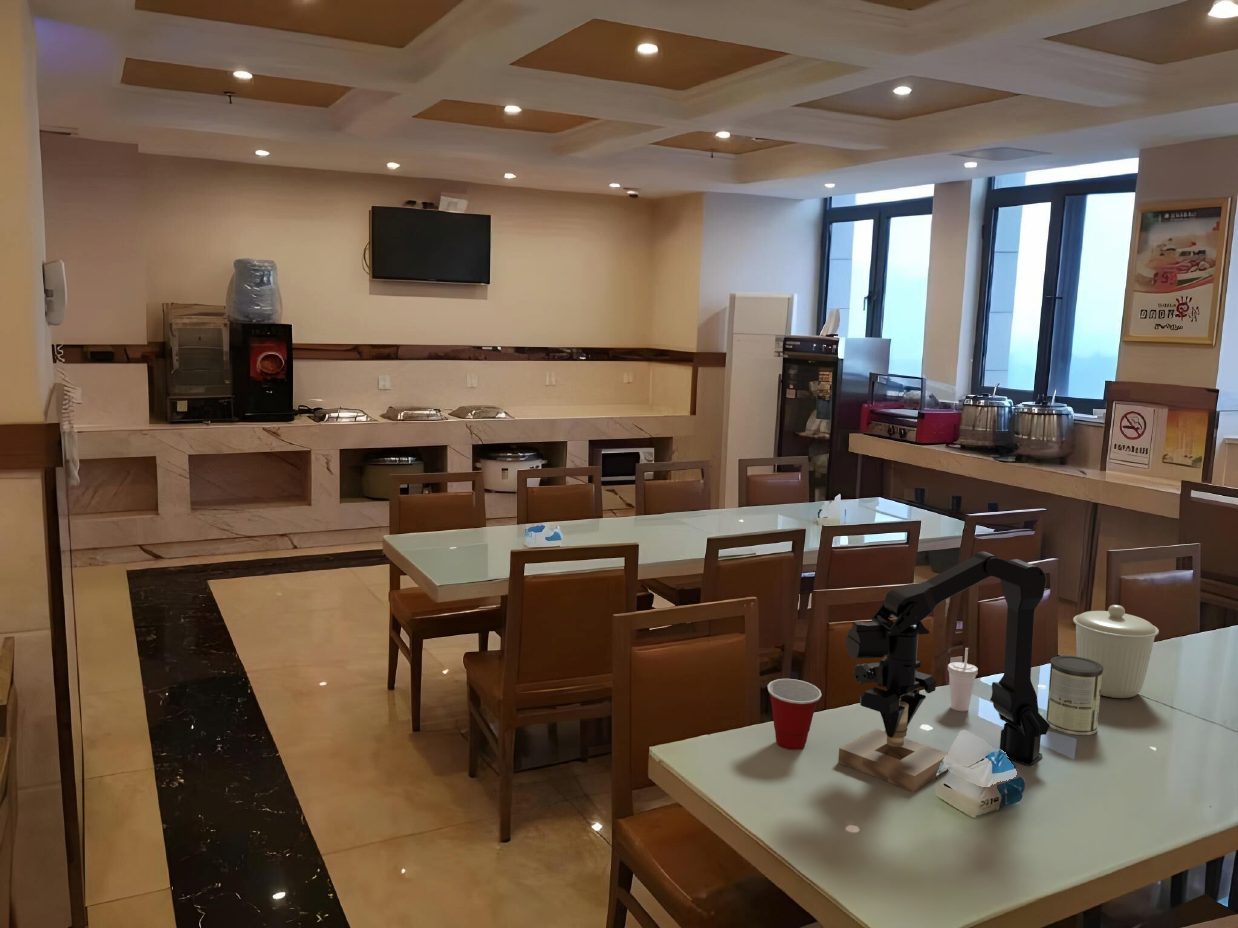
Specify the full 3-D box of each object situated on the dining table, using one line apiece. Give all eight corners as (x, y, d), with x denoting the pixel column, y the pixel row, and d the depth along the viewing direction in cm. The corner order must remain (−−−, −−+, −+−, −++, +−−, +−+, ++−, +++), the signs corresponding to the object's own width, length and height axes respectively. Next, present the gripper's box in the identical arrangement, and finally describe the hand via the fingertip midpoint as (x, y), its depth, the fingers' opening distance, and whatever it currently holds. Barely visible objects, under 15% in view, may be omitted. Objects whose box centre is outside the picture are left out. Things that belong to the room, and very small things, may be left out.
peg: (910, 743, 186) (913, 704, 185) (899, 749, 183) (901, 709, 182) (890, 736, 189) (893, 697, 188) (879, 742, 186) (882, 703, 185)
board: (949, 768, 186) (950, 753, 185) (913, 791, 176) (914, 775, 176) (875, 742, 197) (876, 728, 197) (838, 762, 187) (839, 747, 187)
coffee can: (1038, 715, 214) (1043, 654, 212) (1086, 717, 213) (1092, 656, 211) (1054, 733, 204) (1060, 670, 202) (1105, 737, 203) (1111, 672, 201)
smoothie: (978, 713, 213) (983, 653, 212) (949, 713, 214) (954, 652, 212) (969, 702, 220) (973, 643, 218) (940, 702, 220) (945, 643, 218)
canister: (1073, 699, 224) (1081, 611, 221) (1062, 673, 241) (1069, 591, 238) (1160, 709, 219) (1169, 620, 216) (1142, 682, 236) (1150, 599, 233)
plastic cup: (787, 760, 188) (790, 701, 186) (753, 739, 197) (756, 683, 195) (830, 749, 193) (833, 692, 191) (795, 729, 202) (797, 675, 201)
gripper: (888, 635, 196) (883, 708, 198) (837, 655, 183) (833, 733, 185) (939, 649, 188) (934, 725, 190) (890, 671, 175) (885, 752, 177)
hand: (896, 733), depth 186 cm, fingers closed on peg, 4 cm apart
